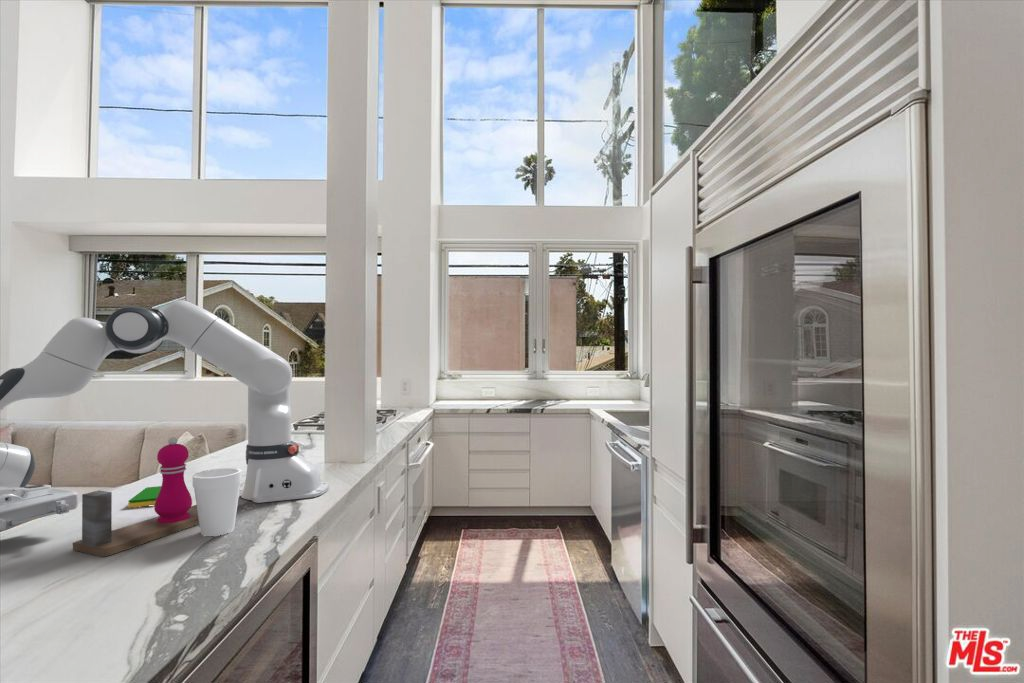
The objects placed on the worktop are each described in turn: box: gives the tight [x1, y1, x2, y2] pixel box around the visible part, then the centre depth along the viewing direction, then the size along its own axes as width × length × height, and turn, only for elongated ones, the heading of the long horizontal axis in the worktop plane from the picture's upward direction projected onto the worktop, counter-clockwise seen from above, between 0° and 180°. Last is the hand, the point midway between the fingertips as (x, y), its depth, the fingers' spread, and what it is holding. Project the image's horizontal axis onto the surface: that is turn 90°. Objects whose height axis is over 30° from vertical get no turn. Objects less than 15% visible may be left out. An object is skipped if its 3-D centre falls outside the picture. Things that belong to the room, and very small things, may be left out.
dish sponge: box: [128, 485, 162, 509], centre depth 138 cm, size 7×14×2 cm, turn 20°
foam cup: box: [192, 467, 243, 537], centre depth 113 cm, size 10×9×13 cm
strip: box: [72, 489, 199, 558], centre depth 114 cm, size 28×10×12 cm, turn 159°
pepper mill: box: [153, 436, 193, 523], centre depth 117 cm, size 7×7×20 cm
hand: (37, 516), depth 102 cm, fingers open, 8 cm apart
